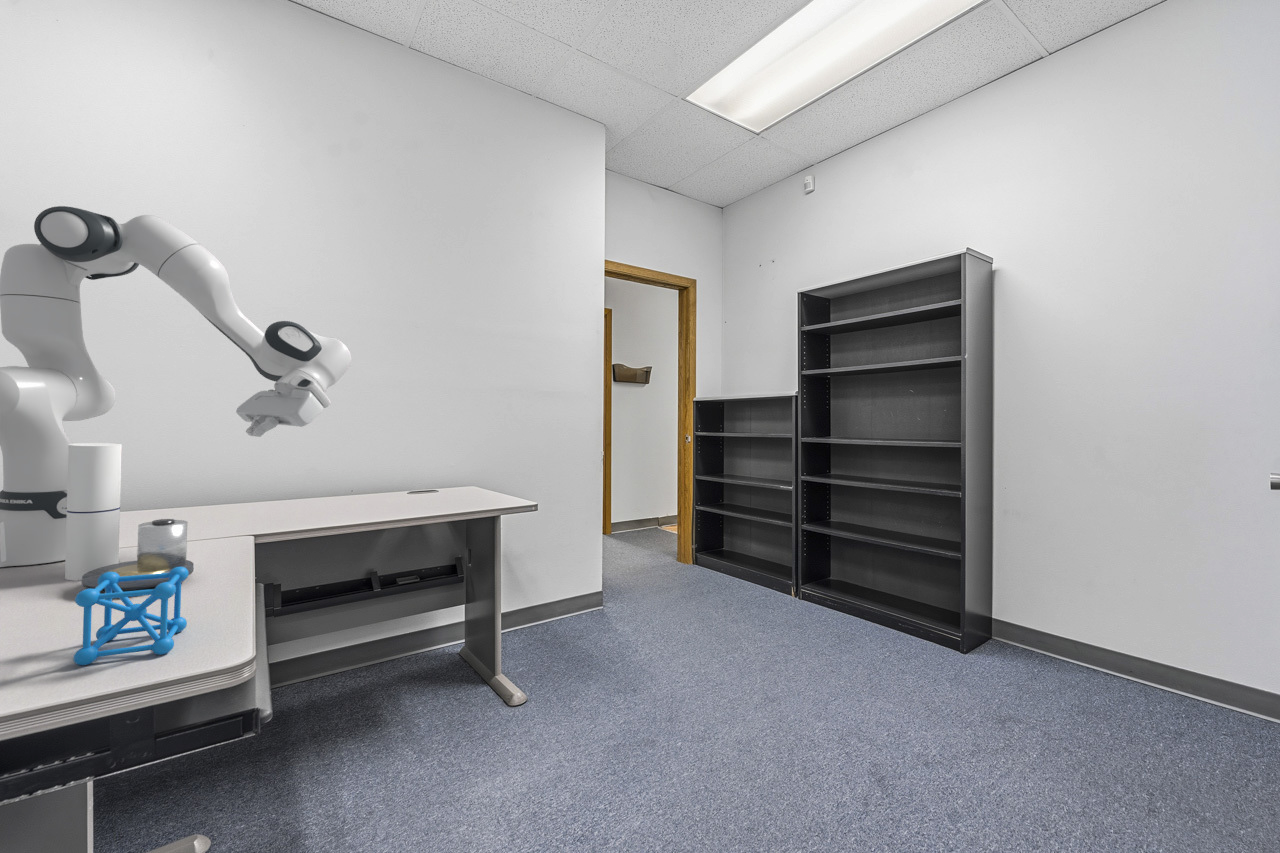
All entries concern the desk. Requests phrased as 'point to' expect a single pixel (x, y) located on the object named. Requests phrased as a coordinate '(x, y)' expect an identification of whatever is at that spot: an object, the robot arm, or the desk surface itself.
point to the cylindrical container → (92, 507)
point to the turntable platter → (128, 570)
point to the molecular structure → (131, 614)
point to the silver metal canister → (162, 545)
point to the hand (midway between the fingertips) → (252, 434)
